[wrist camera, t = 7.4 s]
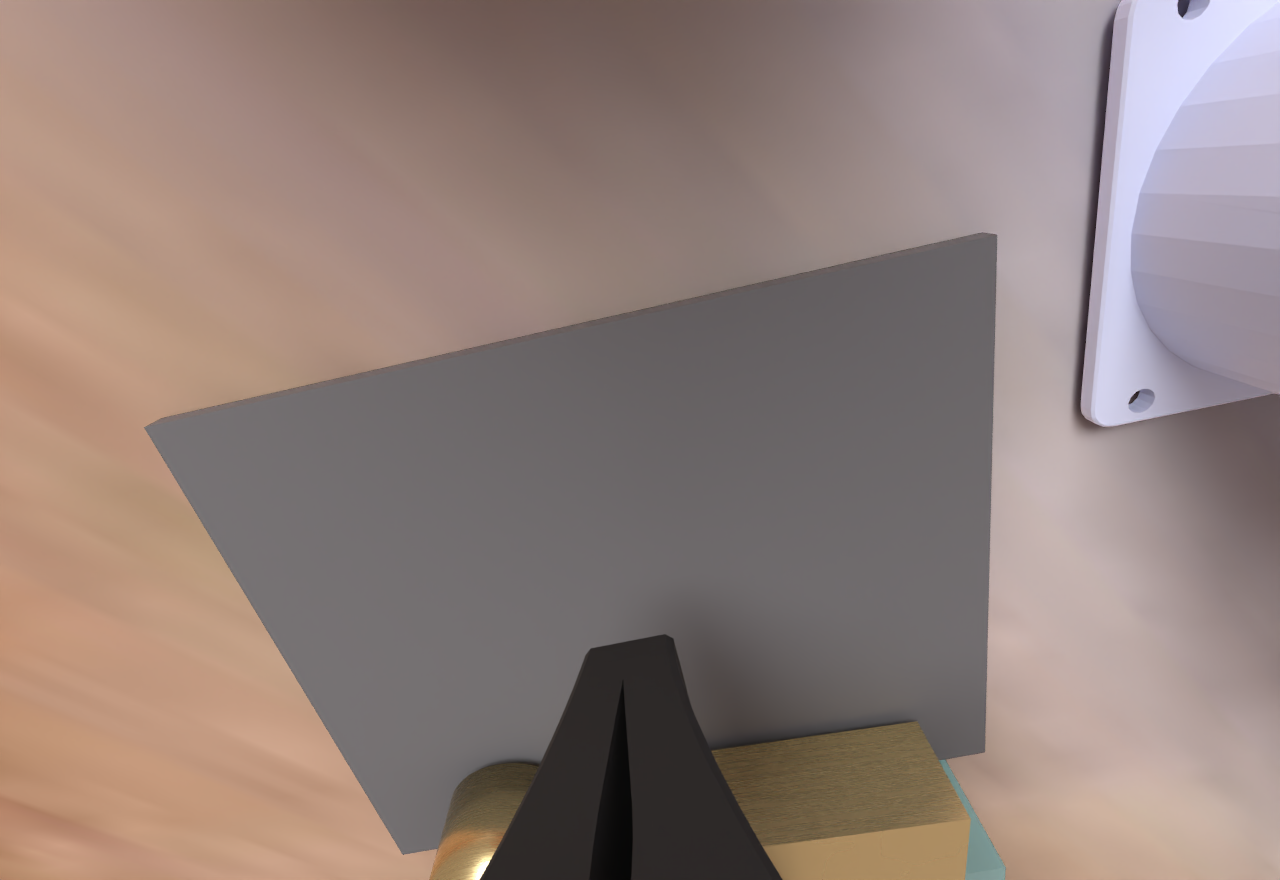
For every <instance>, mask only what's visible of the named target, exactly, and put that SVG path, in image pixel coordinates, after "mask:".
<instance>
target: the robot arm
mask: <svg viewBox="0 0 1280 880" xmlns="http://www.w3.org/2000/svg"><path fill="white" fill-rule="evenodd" d="M1177 3H1178V0H1121V2H1120V4H1119V5H1118V8H1117V12H1116V16H1115V20H1114V28H1113V40H1112V51H1111V63H1110V74H1109V85H1108V97H1107V108H1106V120H1105V131H1104V142H1103V154H1102V165H1101V177H1100V188H1099V200H1098V211H1097V222H1096V234H1095V245H1094V257H1093V268H1092V279H1091V291H1090V302H1089V314H1088V325H1087V337H1086V348H1085V359H1084V371H1083V382H1082V394H1081V412H1082V414H1083V415H1084V417H1085V418H1086V419H1087V420H1089V421H1091V422H1093V423H1095V424H1097V425H1100V426H1102V427H1114V426H1119V425H1124V424H1129V423H1134V422H1138V421H1143V420H1148V419H1153V418H1158V417H1163V416H1168V415H1173V414H1178V413H1182V412H1187V411H1192V410H1197V409H1202V408H1207V407H1212V406H1217V405H1221V404H1226V403H1231V402H1236V401H1241V400H1246V399H1251V398H1256V397H1260V396H1265V395H1270V394H1275V393H1276V394H1279V395H1280V0H1190V4H1189V7H1188V10H1187V13H1186V14H1185V15H1184V16H1183V18H1182V17H1181V16H1180V15H1179V14H1178V7H1177ZM1137 391H1140V392H1139V395H1138V397H1137V399H1136V400H1135V401H1134V402H1133V403H1131V404H1129V405H1128V403H1129V401H1130V398H1131V397H1132V396H1133V395H1134V394H1135V393H1136V392H1137ZM479 880H783V879H782V878H781V876H780V875H779V873H778V871H777V870H776V868H775V866H774V865H773V863H772V861H771V860H770V858H769V856H768V855H767V853H766V852H765V850H764V848H763V847H762V845H761V843H760V841H759V840H758V838H757V836H756V835H755V833H754V831H753V829H752V828H751V826H750V824H749V822H748V821H747V819H746V817H745V815H744V813H743V812H742V810H741V808H740V806H739V804H738V802H737V801H736V799H735V797H734V795H733V793H732V791H731V789H730V787H729V786H728V784H727V782H726V780H725V778H724V776H723V774H722V772H721V770H720V768H719V766H718V764H717V762H716V760H715V758H714V756H713V754H712V752H711V750H710V747H709V745H708V743H707V741H706V739H705V736H704V734H703V732H702V730H701V728H700V726H699V723H698V721H697V719H696V717H695V714H694V712H693V709H692V707H691V703H690V699H689V695H688V692H687V688H686V684H685V680H684V676H683V673H682V669H681V665H680V661H679V658H678V654H677V650H676V646H675V642H674V639H673V638H672V637H670V636H668V635H666V634H663V635H657V636H652V637H647V638H642V639H637V640H631V641H626V642H621V643H616V644H611V645H605V646H600V647H595V648H591V649H590V650H589V651H588V652H587V654H586V655H585V658H584V661H583V663H582V666H581V669H580V672H579V674H578V677H577V679H576V682H575V685H574V687H573V690H572V692H571V695H570V697H569V700H568V702H567V704H566V707H565V709H564V712H563V714H562V716H561V719H560V721H559V723H558V726H557V728H556V730H555V732H554V735H553V737H552V739H551V741H550V743H549V745H548V748H547V750H546V752H545V754H544V756H543V759H542V761H541V763H540V765H539V767H538V769H537V772H536V774H535V776H534V778H533V780H532V782H531V784H530V786H529V788H528V790H527V792H526V794H525V796H524V798H523V800H522V802H521V803H520V805H519V807H518V809H517V811H516V813H515V815H514V817H513V819H512V821H511V823H510V825H509V827H508V829H507V830H506V832H505V834H504V836H503V838H502V840H501V842H500V844H499V846H498V847H497V849H496V851H495V853H494V855H493V856H492V858H491V860H490V862H489V863H488V865H487V867H486V869H485V871H484V872H483V874H482V876H481V878H480V879H479Z"/></svg>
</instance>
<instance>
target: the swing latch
mask: <svg viewBox="0 0 1280 880" xmlns="http://www.w3.org/2000/svg"><path fill="white" fill-rule="evenodd" d="M711 752H712V754H713V756H714V758H715V760H716V762H717V764H718V766H719V768H720V770H721V772H722V774H723V776H724V778H725V780H726V782H727V784H728V786H729V787H730V789H731V791H732V793H733V795H734V797H735V799H736V801H737V802H738V804H739V806H740V808H741V810H742V812H743V813H744V815H745V817H746V819H747V821H748V822H749V824H750V826H751V828H752V829H753V831H754V833H755V835H756V836H757V838H758V840H759V841H760V843H761V845H762V847H763V848H764V850H765V852H766V853H767V855H768V856H769V858H770V860H771V861H772V863H773V865H774V866H775V868H776V870H777V871H778V873H779V875H780V876H781V878H782V879H783V880H965V874H966V864H967V853H968V843H969V833H970V823H971V818H970V817H969V815H968V813H967V811H966V809H965V807H964V806H963V804H962V802H961V800H960V798H959V796H958V795H957V793H956V791H955V789H954V787H953V786H952V784H951V782H950V780H949V778H948V776H947V775H946V773H945V771H944V769H943V767H942V765H941V764H940V762H939V760H938V758H937V756H936V755H935V753H934V751H933V749H932V747H931V745H930V744H929V742H928V740H927V738H926V736H925V734H924V733H923V731H922V729H921V727H920V725H919V724H918V722H917V721H916V722H909V723H902V724H895V725H888V726H881V727H874V728H867V729H859V730H852V731H845V732H838V733H831V734H824V735H817V736H810V737H802V738H795V739H788V740H781V741H774V742H767V743H760V744H753V745H745V746H738V747H731V748H724V749H717V750H711ZM538 767H539V766H537V765H531V764H525V763H503V764H497V765H492V766H488V767H485V768H482V769H480V770H477V771H475V772H474V773H472V774H470V775H469V776H467V777H466V778H465V779H463V780H462V781H461V782H460V783H459V785H458V786H457V787H456V789H455V791H454V793H453V795H452V799H451V802H450V806H449V810H448V813H447V817H446V821H445V824H444V828H443V832H442V835H441V839H440V843H439V846H438V850H437V854H436V857H435V861H434V865H433V868H432V872H431V876H430V879H429V880H479V879H480V878H481V876H482V874H483V872H484V871H485V869H486V867H487V865H488V863H489V862H490V860H491V858H492V856H493V855H494V853H495V851H496V849H497V847H498V846H499V844H500V842H501V840H502V838H503V836H504V834H505V832H506V830H507V829H508V827H509V825H510V823H511V821H512V819H513V817H514V815H515V813H516V811H517V809H518V807H519V805H520V803H521V802H522V800H523V798H524V796H525V794H526V792H527V790H528V788H529V786H530V784H531V782H532V780H533V778H534V776H535V774H536V772H537V769H538Z"/></svg>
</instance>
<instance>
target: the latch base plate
mask: <svg viewBox="0 0 1280 880" xmlns="http://www.w3.org/2000/svg"><path fill="white" fill-rule="evenodd" d="M996 262H997V235H995V234H988V233H978V234H974V235H969V236H965V237H960V238H956V239H952V240H947V241H943V242H938V243H934V244H929V245H925V246H921V247H916V248H912V249H907V250H903V251H899V252H894V253H890V254H885V255H881V256H876V257H872V258H868V259H863V260H859V261H854V262H850V263H846V264H841V265H837V266H832V267H828V268H823V269H819V270H815V271H810V272H806V273H801V274H797V275H793V276H788V277H784V278H779V279H775V280H770V281H766V282H762V283H757V284H753V285H748V286H744V287H739V288H735V289H731V290H726V291H722V292H717V293H713V294H709V295H704V296H700V297H695V298H691V299H686V300H682V301H678V302H673V303H669V304H664V305H660V306H656V307H651V308H647V309H642V310H638V311H633V312H629V313H625V314H620V315H616V316H611V317H607V318H602V319H598V320H594V321H589V322H585V323H580V324H576V325H572V326H567V327H563V328H558V329H554V330H549V331H545V332H541V333H536V334H532V335H527V336H523V337H519V338H514V339H510V340H505V341H501V342H496V343H492V344H488V345H483V346H479V347H474V348H470V349H466V350H461V351H457V352H452V353H448V354H443V355H439V356H435V357H430V358H426V359H421V360H417V361H412V362H408V363H404V364H399V365H395V366H390V367H386V368H382V369H377V370H373V371H368V372H364V373H359V374H355V375H351V376H346V377H342V378H337V379H333V380H329V381H324V382H320V383H315V384H311V385H306V386H302V387H298V388H293V389H289V390H284V391H280V392H276V393H271V394H267V395H262V396H258V397H253V398H249V399H245V400H240V401H236V402H231V403H227V404H222V405H218V406H214V407H209V408H205V409H200V410H196V411H192V412H187V413H183V414H178V415H174V416H169V417H165V418H161V419H159V420H157V421H155V422H154V423H152V424H150V425H148V426H146V427H144V428H145V430H146V431H147V433H148V435H149V436H150V438H151V440H152V441H153V443H154V445H155V446H156V448H157V449H158V451H159V453H160V454H161V456H162V458H163V459H164V461H165V463H166V464H167V466H168V468H169V469H170V471H171V473H172V474H173V476H174V478H175V479H176V481H177V483H178V484H179V486H180V487H181V489H182V491H183V492H184V494H185V496H186V497H187V499H188V501H189V502H190V504H191V506H192V507H193V509H194V511H195V512H196V514H197V516H198V517H199V519H200V521H201V522H202V524H203V525H204V527H205V529H206V530H207V532H208V534H209V535H210V537H211V539H212V540H213V542H214V544H215V545H216V547H217V549H218V550H219V552H220V554H221V555H222V557H223V558H224V560H225V562H226V563H227V565H228V567H229V568H230V570H231V572H232V573H233V575H234V577H235V578H236V580H237V582H238V583H239V585H240V587H241V588H242V590H243V592H244V593H245V595H246V596H247V598H248V600H249V601H250V603H251V605H252V606H253V608H254V610H255V611H256V613H257V615H258V616H259V618H260V620H261V621H262V623H263V625H264V626H265V628H266V630H267V631H268V633H269V634H270V636H271V638H272V639H273V641H274V643H275V644H276V646H277V648H278V649H279V651H280V653H281V654H282V656H283V658H284V659H285V661H286V663H287V664H288V666H289V668H290V669H291V671H292V672H293V674H294V676H295V677H296V679H297V681H298V682H299V684H300V686H301V687H302V689H303V691H304V692H305V694H306V696H307V697H308V699H309V701H310V702H311V704H312V706H313V707H314V709H315V710H316V712H317V714H318V715H319V717H320V719H321V720H322V722H323V724H324V725H325V727H326V729H327V730H328V732H329V734H330V735H331V737H332V739H333V740H334V742H335V744H336V745H337V747H338V748H339V750H340V752H341V753H342V755H343V757H344V758H345V760H346V762H347V763H348V765H349V767H350V768H351V770H352V772H353V773H354V775H355V777H356V778H357V780H358V781H359V783H360V785H361V786H362V788H363V790H364V791H365V793H366V795H367V796H368V798H369V800H370V801H371V803H372V805H373V806H374V808H375V810H376V811H377V813H378V815H379V816H380V818H381V819H382V821H383V823H384V824H385V826H386V828H387V829H388V831H389V833H390V834H391V836H392V838H393V839H394V841H395V843H396V844H397V846H398V848H399V849H400V851H401V853H402V854H403V855H404V854H410V853H415V852H421V851H427V850H432V849H438V846H439V843H440V839H441V835H442V832H443V828H444V824H445V821H446V817H447V813H448V810H449V806H450V802H451V799H452V795H453V793H454V791H455V789H456V787H457V786H458V785H459V783H460V782H461V781H462V780H463V779H465V778H466V777H467V776H469V775H470V774H472V773H474V772H475V771H477V770H480V769H482V768H485V767H488V766H492V765H497V764H503V763H525V764H531V765H537V766H539V765H540V763H541V761H542V759H543V756H544V754H545V752H546V750H547V748H548V745H549V743H550V741H551V739H552V737H553V735H554V732H555V730H556V728H557V726H558V723H559V721H560V719H561V716H562V714H563V712H564V709H565V707H566V704H567V702H568V700H569V697H570V695H571V692H572V690H573V687H574V685H575V682H576V679H577V677H578V674H579V672H580V669H581V666H582V663H583V661H584V658H585V655H586V654H587V652H588V651H589V650H590V649H591V648H595V647H600V646H605V645H611V644H616V643H621V642H626V641H631V640H637V639H642V638H647V637H652V636H657V635H663V634H666V635H668V636H670V637H672V638H673V639H674V642H675V646H676V650H677V654H678V658H679V661H680V665H681V669H682V673H683V676H684V680H685V684H686V688H687V692H688V695H689V699H690V703H691V707H692V709H693V712H694V714H695V717H696V719H697V721H698V723H699V726H700V728H701V730H702V732H703V734H704V736H705V739H706V741H707V743H708V745H709V747H710V750H717V749H724V748H731V747H738V746H745V745H753V744H760V743H767V742H774V741H781V740H788V739H795V738H802V737H810V736H817V735H824V734H831V733H838V732H845V731H852V730H859V729H867V728H874V727H881V726H888V725H895V724H902V723H909V722H916V721H917V722H918V724H919V725H920V727H921V729H922V731H923V733H924V734H925V736H926V738H927V740H928V742H929V744H930V745H931V747H932V749H933V751H934V753H935V755H936V756H937V758H938V760H944V759H950V758H955V757H961V756H967V755H973V754H978V753H984V752H985V724H986V682H987V640H988V598H989V556H990V514H991V472H992V430H993V388H994V346H995V304H996Z"/></svg>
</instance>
